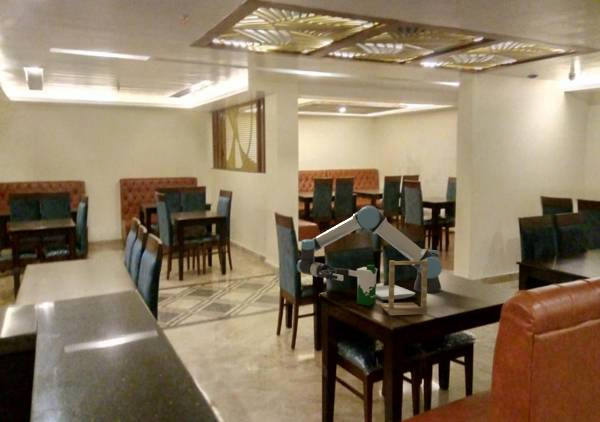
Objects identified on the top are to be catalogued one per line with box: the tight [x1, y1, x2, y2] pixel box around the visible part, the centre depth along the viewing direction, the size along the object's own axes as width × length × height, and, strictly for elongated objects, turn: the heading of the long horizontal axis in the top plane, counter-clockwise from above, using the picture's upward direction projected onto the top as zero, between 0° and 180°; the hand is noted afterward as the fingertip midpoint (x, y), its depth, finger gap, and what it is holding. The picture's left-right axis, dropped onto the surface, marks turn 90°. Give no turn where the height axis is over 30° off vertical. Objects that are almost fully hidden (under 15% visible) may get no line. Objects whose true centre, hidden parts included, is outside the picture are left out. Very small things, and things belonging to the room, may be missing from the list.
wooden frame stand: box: [379, 259, 428, 316], centre depth 235 cm, size 18×18×26 cm
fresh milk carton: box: [356, 264, 378, 307], centre depth 245 cm, size 9×9×20 cm
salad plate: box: [376, 284, 416, 301], centre depth 261 cm, size 21×21×3 cm
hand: (351, 276), depth 252 cm, fingers open, 13 cm apart
